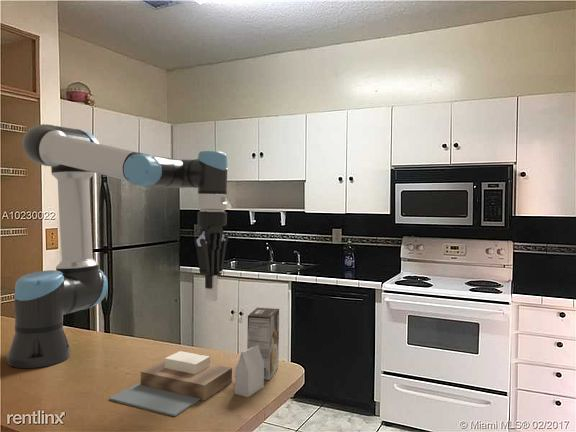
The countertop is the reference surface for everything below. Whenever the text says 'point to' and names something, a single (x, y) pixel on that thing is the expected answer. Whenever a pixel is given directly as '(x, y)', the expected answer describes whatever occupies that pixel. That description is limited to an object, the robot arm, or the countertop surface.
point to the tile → (187, 362)
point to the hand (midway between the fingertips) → (211, 300)
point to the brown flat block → (187, 380)
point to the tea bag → (249, 372)
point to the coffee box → (265, 337)
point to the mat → (155, 399)
